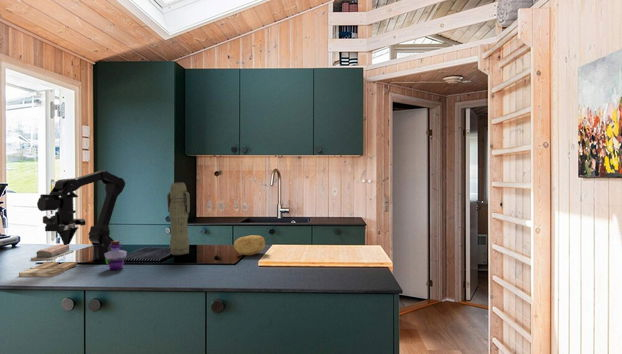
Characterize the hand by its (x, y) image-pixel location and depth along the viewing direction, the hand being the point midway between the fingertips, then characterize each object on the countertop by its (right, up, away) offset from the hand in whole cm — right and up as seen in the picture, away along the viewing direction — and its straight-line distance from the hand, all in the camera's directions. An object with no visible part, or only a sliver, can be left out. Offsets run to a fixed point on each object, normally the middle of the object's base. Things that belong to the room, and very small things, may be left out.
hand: (66, 244), depth 177 cm
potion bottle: (+23, -10, -3) cm, 25 cm away
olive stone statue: (+40, -9, +26) cm, 49 cm away
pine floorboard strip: (-4, -10, -10) cm, 15 cm away
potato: (+76, -9, +21) cm, 79 cm away
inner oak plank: (0, -10, -2) cm, 10 cm away
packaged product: (-21, -10, +23) cm, 33 cm away
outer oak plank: (-8, -10, -1) cm, 13 cm away
